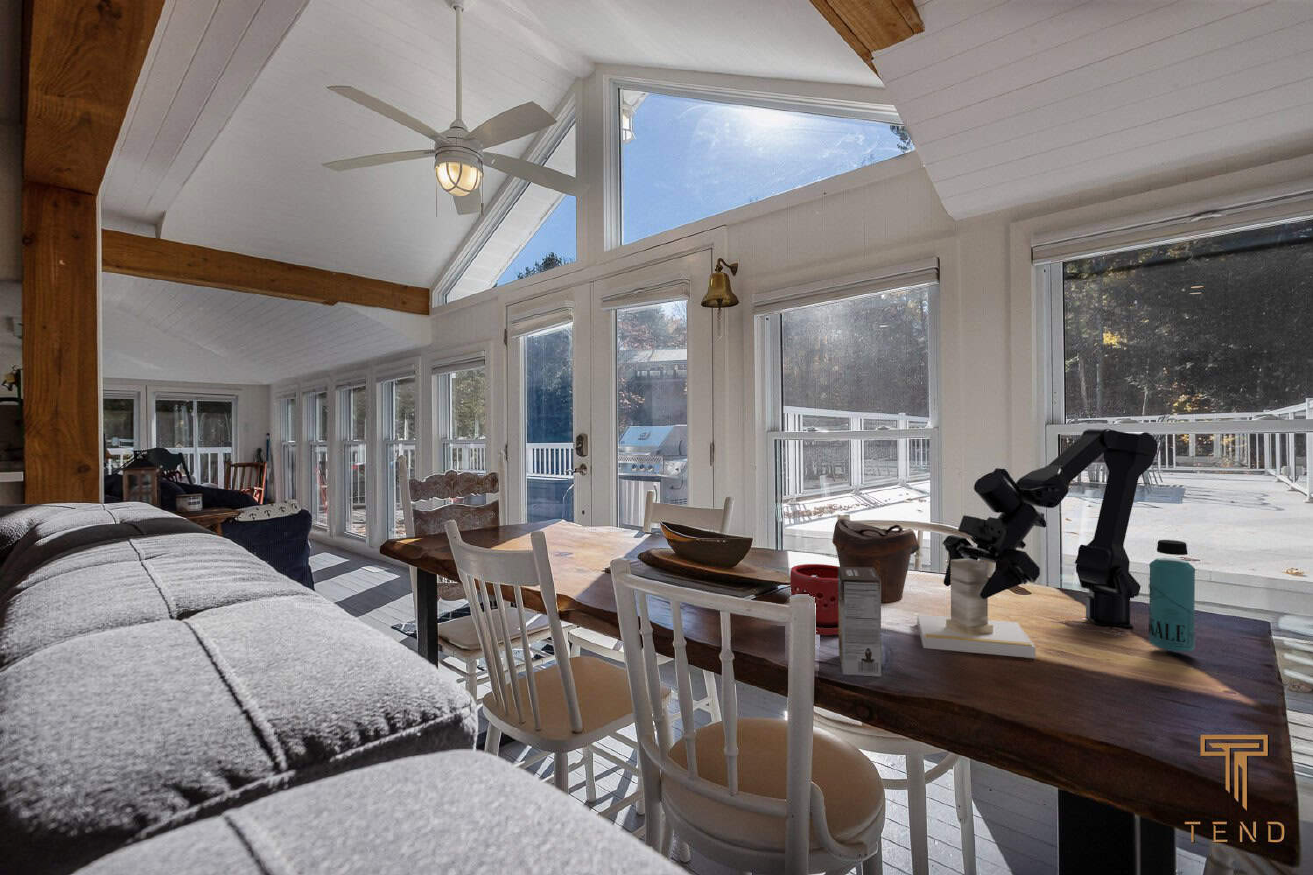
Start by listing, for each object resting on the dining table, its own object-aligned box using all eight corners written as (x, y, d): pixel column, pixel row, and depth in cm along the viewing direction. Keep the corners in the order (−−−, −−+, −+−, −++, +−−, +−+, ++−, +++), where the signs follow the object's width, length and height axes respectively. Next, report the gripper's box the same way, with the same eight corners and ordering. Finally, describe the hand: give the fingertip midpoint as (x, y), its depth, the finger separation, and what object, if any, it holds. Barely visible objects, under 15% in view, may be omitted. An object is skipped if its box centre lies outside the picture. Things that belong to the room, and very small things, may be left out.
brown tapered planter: (933, 605, 139) (931, 525, 139) (844, 607, 140) (842, 527, 140) (903, 586, 157) (901, 515, 157) (823, 587, 157) (822, 517, 157)
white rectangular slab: (1017, 632, 121) (1017, 621, 121) (1035, 658, 108) (1035, 645, 108) (917, 624, 127) (917, 613, 127) (923, 647, 114) (923, 635, 114)
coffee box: (837, 654, 111) (836, 565, 111) (875, 656, 110) (874, 566, 110) (842, 675, 102) (841, 578, 102) (883, 677, 101) (882, 579, 101)
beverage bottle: (1185, 649, 111) (1185, 537, 111) (1204, 662, 105) (1204, 544, 105) (1141, 645, 113) (1141, 536, 113) (1157, 658, 107) (1157, 543, 107)
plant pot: (818, 644, 117) (817, 580, 116) (777, 624, 129) (777, 566, 128) (872, 633, 122) (871, 573, 122) (828, 615, 134) (828, 560, 134)
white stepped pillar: (970, 623, 121) (970, 557, 120) (993, 633, 115) (992, 563, 115) (946, 626, 119) (945, 559, 119) (967, 636, 114) (967, 565, 114)
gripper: (950, 495, 127) (904, 553, 124) (1026, 506, 109) (975, 574, 106) (982, 531, 129) (937, 588, 126) (1062, 548, 111) (1012, 615, 108)
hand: (962, 590), depth 117 cm, fingers open, 9 cm apart
